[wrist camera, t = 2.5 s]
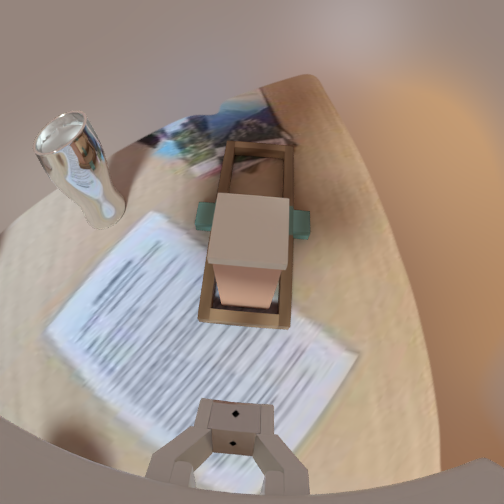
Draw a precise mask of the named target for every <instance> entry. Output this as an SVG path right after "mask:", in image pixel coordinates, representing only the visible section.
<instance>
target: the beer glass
mask: <svg viewBox="0 0 504 504" xmlns="http://www.w3.org/2000/svg"><path fill="white" fill-rule="evenodd" d="M33 150H34V152H35V154H36V155H37V157H38V159H39V161H40V163H41V165H42V167H43V169H44V170H45V172H46V173H47V175H48V177H49V178H50V179H51V181H52V182H53V183H54V184H55V186H56V187H57V188H58V189H59V190H60V191H61V192H62V193H64V194H65V195H66V196H67V197H68V198H69V199H71V200H72V201H73V202H74V203H75V204H77V205H78V206H79V207H80V208H81V210H82V212H83V214H84V216H85V219H86V221H87V223H88V224H89V225H90V226H91V227H92V228H94V229H99V230H102V229H107V228H109V227H111V226H113V225H114V224H116V223H117V222H118V221H119V220H120V218H121V217H122V215H123V214H124V211H125V200H124V198H123V196H122V195H121V194H120V192H119V191H118V190H117V189H116V188H115V187H114V185H113V183H112V180H111V177H110V173H109V168H108V164H107V160H106V157H105V153H104V150H103V148H102V145H101V143H100V140H99V139H98V137H97V134H96V133H95V131H94V129H93V127H92V125H91V124H90V122H89V121H88V119H87V116H86V114H85V113H84V112H82V111H70V112H66V113H64V114H61V115H59V116H58V117H56V118H54V119H53V120H52V121H50V122H49V123H48V124H46V125H45V126H44V127H43V128H42V129H41V131H40V132H39V133H38V135H37V136H36V138H35V141H34V144H33Z"/></svg>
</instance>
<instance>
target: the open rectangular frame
mask: <svg viewBox="0 0 504 504" xmlns="http://www.w3.org/2000/svg"><path fill="white" fill-rule="evenodd" d="M235 155H246V156H258V157H270V158H280V159H284V165H283V198H288V199H289V238H288V265H287V268H286V270H282V272H281V275H280V278H279V297H278V314H266V313H254V312H243V311H232V310H222V309H212V308H213V300H214V292H215V284H216V278H215V273H214V269H213V264H210V263H208V259H207V256H206V263H205V269H204V276H203V282H202V289H201V296H200V303H199V311H198V320H199V322H207V323H216V324H226V325H236V326H247V327H259V328H272V329H287V330H288V329H289V328H290V320H291V297H292V267H293V238H297V239H308V237H309V235H310V211H301V210H294V153H293V146H286V145H276V144H266V143H254V142H240V141H227V144H226V149H225V154H224V160H223V165H222V170H221V175H220V180H219V186H218V191H217V195H218V193H229V187H230V181H231V175H232V168H233V162H234V156H235ZM216 201H217V197H216ZM215 207H216V202H215V203H208V202H199V205H198V210H197V215H196V220H195V226H196V230H204V231H210V236H211V230H212V224H213V218H214V212H215ZM209 242H210V237H209ZM208 248H209V244H208ZM207 255H208V250H207Z"/></svg>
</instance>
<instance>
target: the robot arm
mask: <svg viewBox="0 0 504 504" xmlns="http://www.w3.org/2000/svg"><path fill="white" fill-rule="evenodd" d="M212 452H214V453H225V454H235V455H245V456H253V458H254V460H255V462H256V463H257V465H258V466H259V468H260V469H261V471H262V473H263V474H264V476H265V478H264V481H263V485H262V489H261V493H260V495H255V494H240V493H229V492H220V491H212V490H204V489H198V488H197V487H196V482H195V477H194V471H195V470H196V469H197V468H198V467H199V466H200V465H201V464H202V463H203V462H204V461H205V460H206V459H207V458H208V457H209V456H210V455H211V454H212ZM0 504H504V468H503V467H501V466H500V465H498V464H496V463H495V462H493V461H491V460H489V459H487V458H479V459H477V460H474V461H471V462H469V463H466V464H463V465H460V466H458V467H455V468H452V469H449V470H446V471H443V472H439V473H436V474H433V475H429V476H426V477H422V478H418V479H414V480H410V481H406V482H402V483H397V484H392V485H387V486H382V487H376V488H370V489H364V490H357V491H349V492H340V493H329V494H315V495H310V489H309V477H308V470H307V469H306V467H305V466H304V465H303V464H302V463H301V462H300V461H299V459H298V458H297V457H296V456H295V455H294V454H293V453H292V451H291V450H290V449H289V448H288V447H287V446H286V444H285V443H284V442H283V441H282V440H281V438H280V437H279V436H278V435H275V434H274V406H273V405H268V404H253V403H239V402H237V403H236V402H227V401H220V400H212V399H205V398H202V399H201V400H200V404H199V408H198V412H197V416H196V420H195V424H194V427H193V426H190V427H189V428H187V429H186V430H185V431H184V432H182V433H181V434H180V435H178V436H177V437H176V438H174V439H173V440H172V441H170V442H169V443H167V444H166V445H165V446H163V447H162V448H161V449H159V450H158V451H156V452H155V453H154V454H153V455H152V458H151V461H150V464H149V467H148V469H147V472H146V475H145V477H141V476H137V475H134V474H130V473H127V472H124V471H120V470H117V469H114V468H111V467H108V466H105V465H102V464H99V463H97V462H94V461H91V460H88V459H86V458H83V457H81V456H78V455H76V454H73V453H71V452H69V451H66V450H64V449H62V448H60V447H57V446H55V445H53V444H51V443H49V442H47V441H45V440H43V439H41V438H39V437H37V436H35V435H33V434H31V433H29V432H27V431H26V430H24V429H22V428H20V427H18V426H17V425H15V424H13V423H11V422H10V421H8V420H6V419H5V418H3V417H2V416H0Z"/></svg>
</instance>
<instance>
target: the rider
mask: <svg viewBox="0 0 504 504" xmlns="http://www.w3.org/2000/svg"><path fill="white" fill-rule="evenodd" d="M288 238H289V199H288V198H278V197H268V196H256V195H244V194H231V193H218V195H217V201H216V207H215V212H214V218H213V224H212V230H211V236H210V242H209V248H208V255H207V259H208V263H210V264H213V269H214V273H215V278H216V282H217V287H218V291H219V295H220V299H221V304H222V306H233V307H243V308H255V309H267V310H269V307H270V304H271V301H272V298H273V295H274V292H275V289H276V287H277V284H278V281H279V278H280V275H281V272H282V270H286V268H287V265H288Z"/></svg>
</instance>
